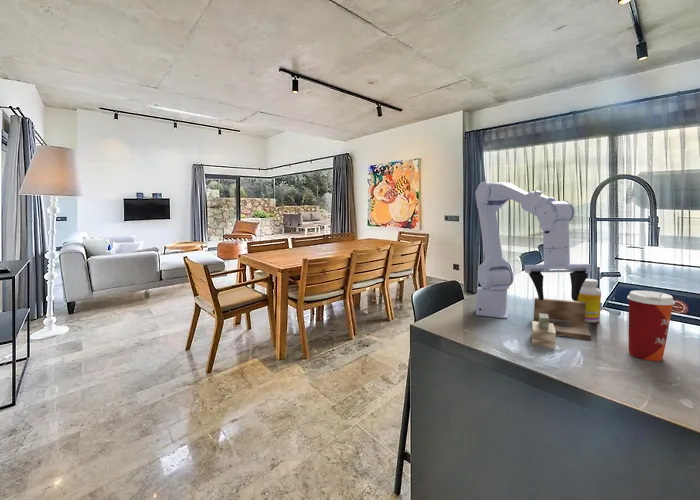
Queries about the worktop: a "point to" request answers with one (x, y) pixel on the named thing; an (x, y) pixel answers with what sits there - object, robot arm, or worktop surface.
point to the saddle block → (543, 332)
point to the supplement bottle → (590, 300)
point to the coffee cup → (649, 323)
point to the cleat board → (572, 330)
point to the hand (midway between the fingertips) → (557, 300)
